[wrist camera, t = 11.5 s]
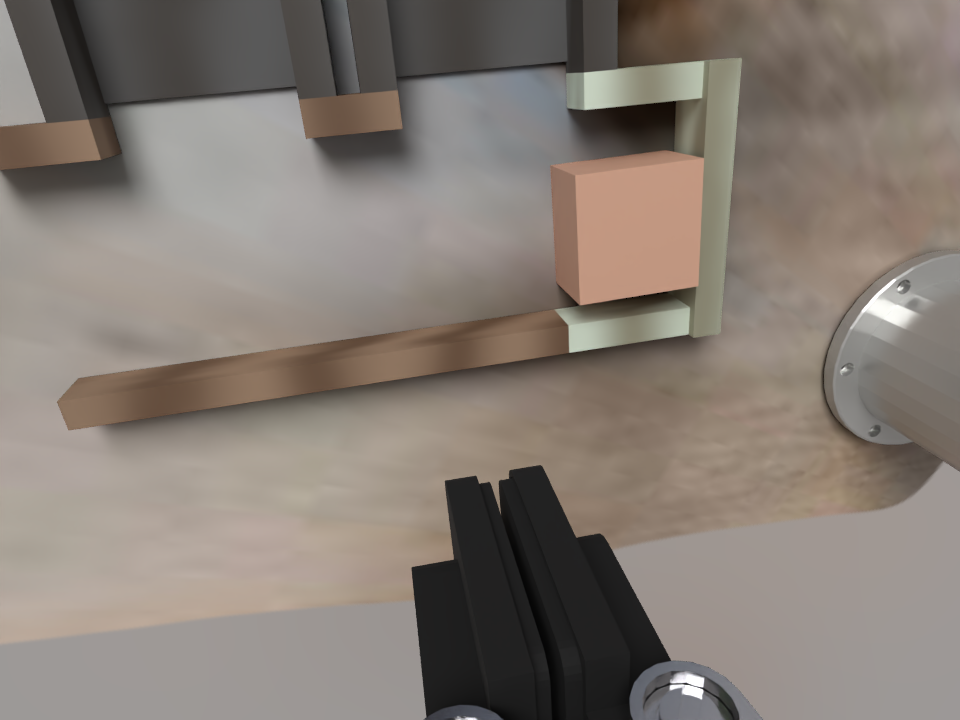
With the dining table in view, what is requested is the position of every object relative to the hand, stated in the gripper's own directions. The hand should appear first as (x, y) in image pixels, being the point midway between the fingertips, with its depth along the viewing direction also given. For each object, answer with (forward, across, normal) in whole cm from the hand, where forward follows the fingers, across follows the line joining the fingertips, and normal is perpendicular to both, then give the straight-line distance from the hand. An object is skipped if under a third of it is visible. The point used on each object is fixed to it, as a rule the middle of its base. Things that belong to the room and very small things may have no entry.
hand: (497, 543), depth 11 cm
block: (+23, -10, 0) cm, 25 cm away
